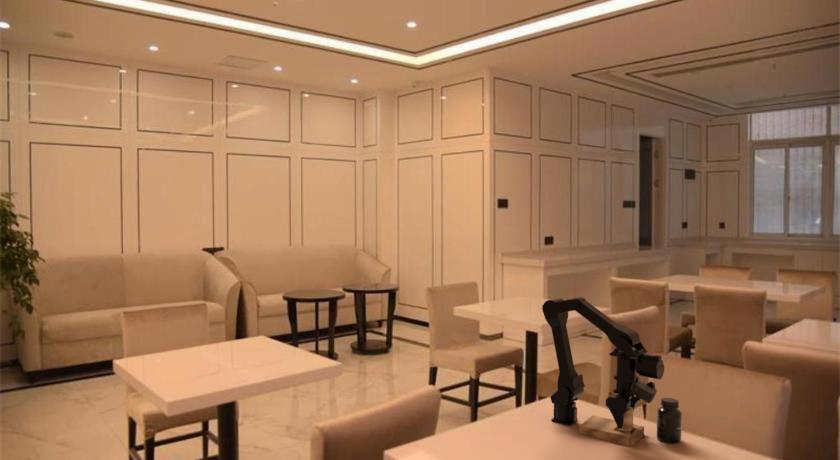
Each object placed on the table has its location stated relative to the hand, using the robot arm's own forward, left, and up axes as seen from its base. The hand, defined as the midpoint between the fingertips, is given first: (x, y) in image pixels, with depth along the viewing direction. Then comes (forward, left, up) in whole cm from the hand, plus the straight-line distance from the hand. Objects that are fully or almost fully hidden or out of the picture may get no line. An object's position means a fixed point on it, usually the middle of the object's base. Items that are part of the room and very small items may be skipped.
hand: (624, 423), depth 178 cm
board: (-4, 0, -4) cm, 6 cm away
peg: (0, 0, -4) cm, 4 cm away
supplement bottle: (+11, +6, -4) cm, 14 cm away
